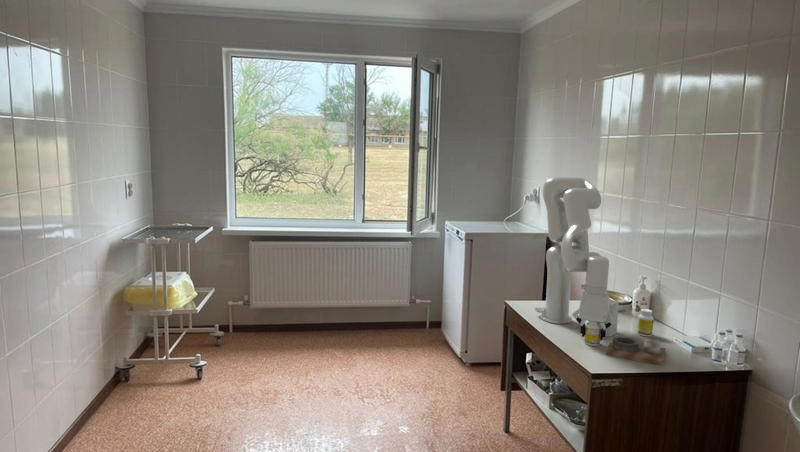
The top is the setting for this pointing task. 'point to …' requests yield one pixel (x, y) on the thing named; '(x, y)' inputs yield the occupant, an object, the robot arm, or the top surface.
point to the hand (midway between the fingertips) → (592, 336)
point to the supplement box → (614, 311)
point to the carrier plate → (637, 354)
